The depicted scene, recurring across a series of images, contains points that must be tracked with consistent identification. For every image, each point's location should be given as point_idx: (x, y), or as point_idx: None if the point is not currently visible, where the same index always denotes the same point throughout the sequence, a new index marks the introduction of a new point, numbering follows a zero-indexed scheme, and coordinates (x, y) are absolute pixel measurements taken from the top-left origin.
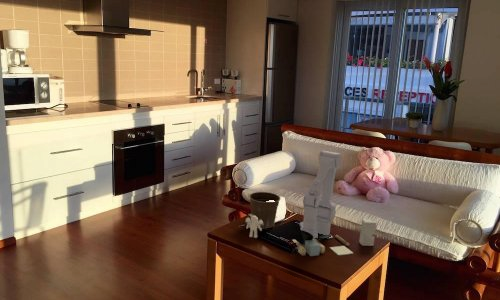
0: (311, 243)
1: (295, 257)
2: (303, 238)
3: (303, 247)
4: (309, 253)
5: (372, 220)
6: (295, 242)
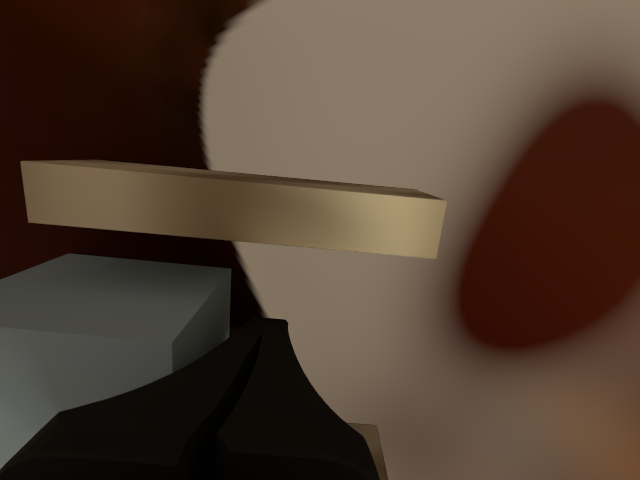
0: (19, 379)
1: (62, 30)
2: (297, 367)
3: (99, 219)
4: (83, 263)
5: None
6: (323, 195)
